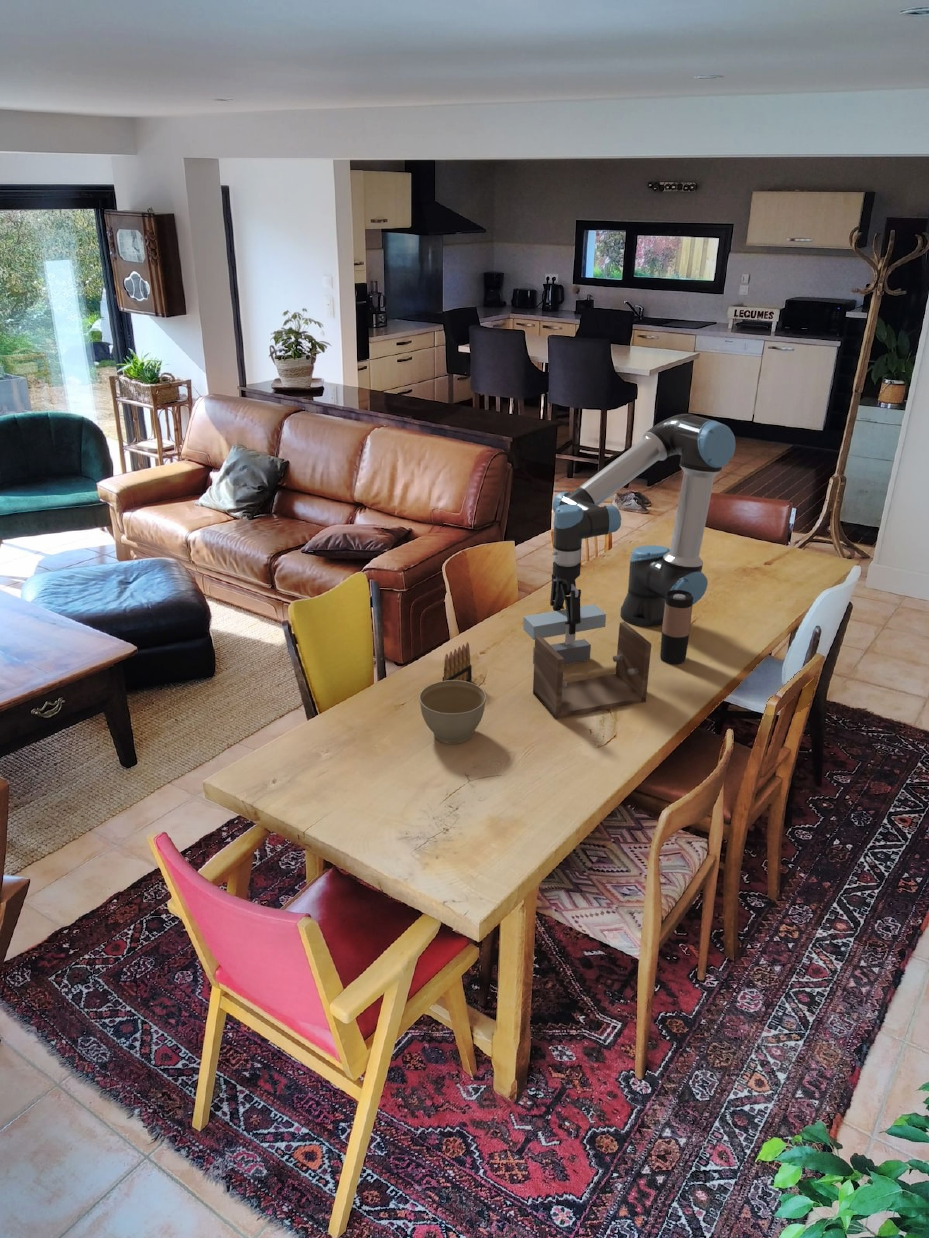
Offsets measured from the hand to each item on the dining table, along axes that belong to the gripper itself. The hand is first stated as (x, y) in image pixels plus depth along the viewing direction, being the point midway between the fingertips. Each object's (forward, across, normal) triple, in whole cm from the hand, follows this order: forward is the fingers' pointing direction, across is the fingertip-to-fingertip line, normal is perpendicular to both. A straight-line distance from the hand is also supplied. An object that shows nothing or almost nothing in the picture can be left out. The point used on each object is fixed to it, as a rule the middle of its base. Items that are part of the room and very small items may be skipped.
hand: (564, 637), depth 257 cm
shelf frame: (+8, +21, -3) cm, 23 cm away
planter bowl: (+7, +26, -43) cm, 50 cm away
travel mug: (+8, +9, +30) cm, 33 cm away
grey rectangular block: (+8, 0, -1) cm, 8 cm away
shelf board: (-3, 0, 0) cm, 3 cm away
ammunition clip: (+7, +4, -34) cm, 35 cm away
